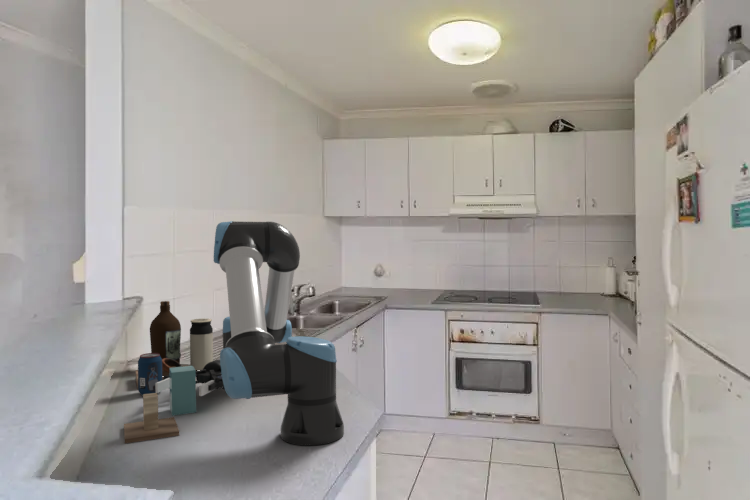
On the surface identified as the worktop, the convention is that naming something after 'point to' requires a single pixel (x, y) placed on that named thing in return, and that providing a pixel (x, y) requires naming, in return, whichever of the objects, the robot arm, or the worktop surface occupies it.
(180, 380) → the tall teal pillar
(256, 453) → the worktop surface
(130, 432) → the brown square base plate
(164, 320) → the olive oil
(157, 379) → the soda can
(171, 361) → the pottery mug
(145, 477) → the worktop surface
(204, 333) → the travel mug
